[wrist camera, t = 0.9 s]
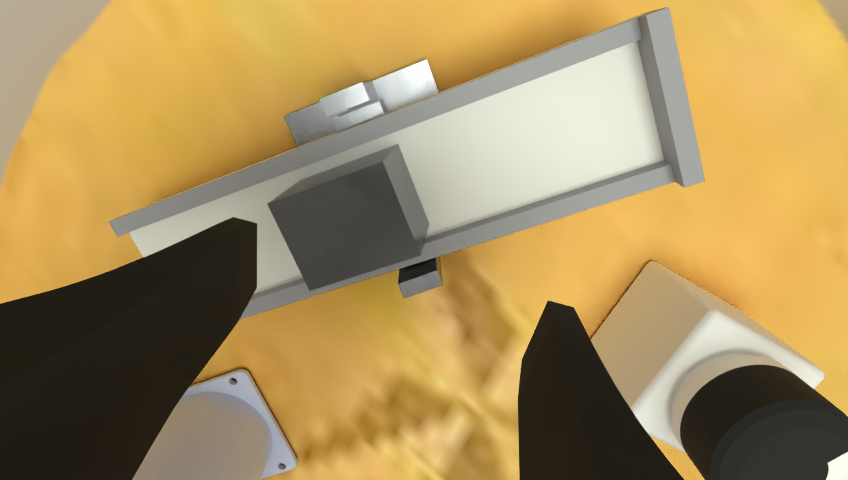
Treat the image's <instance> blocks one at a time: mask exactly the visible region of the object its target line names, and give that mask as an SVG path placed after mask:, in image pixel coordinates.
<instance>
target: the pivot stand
mask: <svg viewBox="0 0 848 480" xmlns="http://www.w3.org/2000/svg"><path fill="white" fill-rule="evenodd" d="M436 93H439V92H438V89H437V86H436V84H435V81H434V78H433V75H432V72H431V70H430V67H429V64H428V61H427V59H426V60H423V61H421V62H418V63H416V64H413V65H411V66H408V67H406V68H403V69H401V70H398V71H396V72H393V73H391V74H388V75H386V76H383V77H381V78H378V79H376V80H373V81H367V82H361V83H358V84H356V85H353V86H351V87H348V88H346V89H343V90H341V91H338V92H336V93H333V94H331V95H328V96H326V97H323V98H321V99H319V100H320V102H318V103H316V104H313V105H311V106H308V107H306V108H303V109H301V110H298V111H296V112H293V113H291V114H288V115H286V116H284V118H285V120H286V122H287V124H288V127H289V129H290V131H291V133H292V135H293V138H294V140H295V142H296V144H297V146H298V147H299V146H302V145H304V144H307V143H310V142H312V141H315V140H317V139H320V138H323V137H325V136H328V135H330V134H333V133H335V132H338V131H341V130H343V129H346V128H348V127H351V126H354V125H356V124H359V123H361V122H364V121H366V120H369V119H372V118H374V117H377V116H379V115H382V114H385V113H387V112H390V111H392V110H395V109H397V108H400V107H403V106H405V105H408V104H410V103H413V102H416V101H418V100H421V99H423V98H426V97H428V96H431V95H434V94H436ZM398 285H399V287H400V290H401V292H402V295H403V297H404V298H407V297H410V296H412V295H415V294H418V293H421V292H424V291H427V290H430V289H432V288H435V287H438V286H441V285H443V283H442V274H441V264H440V256H439V257H435V258H432V259H429V260H426V261H423V262H420V263H416V264H413V265H410V266H407V267H404V268H401V269H400V271H399V280H398Z"/></svg>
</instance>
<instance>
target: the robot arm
mask: <svg viewBox="0 0 848 480" xmlns="http://www.w3.org/2000/svg"><path fill="white" fill-rule="evenodd" d="M256 288H257V223H254V222H251V221H247V220H243V219H239V218H236V217H232V218H230V219H227V220H225V221H223V222H220V223H218V224H216V225H214V226H212V227H210V228H207V229H205V230H203V231H201V232H199V233H197V234H195V235H193V236H191V237H188V238H186V239H184V240H182V241H180V242H177V243H175V244H173V245H171V246H169V247H167V248H164V249H162V250H160V251H158V252H156V253H153V254H151V255H148V256H146V257H143V258H141V259H139V260H136V261H134V262H131V263H129V264H126V265H124V266H121V267H119V268H117V269H114V270H111V271H109V272H106V273H103V274H101V275H98V276H95V277H92V278H89V279H86V280H83V281H80V282H77V283H74V284H71V285H68V286H65V287H61V288H58V289H55V290H51V291H48V292H44V293H40V294H36V295H32V296H29V297H25V298H21V299H17V300H13V301H10V302H6V303H2V304H0V480H261V479H264V478H267V477H270V476H273V475H276V474H280V473H283V472H286V471H289V470H292V469H294V468H295V467H296V465H297V458H296V456H295V454H294V452H293V451H292V449H291V447H290V445H289V443H288V442H287V440H286V438H285V436H284V434H283V433H282V431H281V429H280V427H279V425H278V424H277V422H276V420H275V418H274V417H273V415H272V413H271V411H270V409H269V408H268V406H267V404H266V402H265V400H264V399H263V397H262V395H261V393H260V391H259V390H258V388H257V386H256V384H255V382H254V381H253V379H252V377H251V375H250V374H249V372H248V371H246V370H245V369H238V370H235V371H233V372H230V373H227V374H224V375H221V376H218V377H215V378H212V379H210V380H207V381H204V382H201V383H198V384H195V385H192V386H190V385H191V384H192V383H193V381H194V380H195V379H196V377H197V376H198V375H199V373H200V372H201V371H202V369H203V368H204V367H205V365H206V364H207V363H208V361H209V360H210V359H211V357H212V356H213V355H214V353H215V352H216V351H217V349H218V348H219V347H220V345H221V344H222V343H223V341H224V340H225V339H226V337H227V336H228V335H229V333H230V332H231V331H232V329H233V328H234V326H235V325H236V324H237V322H238V321H239V319H240V317H241V316H242V314H243V312H244V310H245V309H246V307H247V305H248V303H249V301H250V299H251V298H252V296H253V294H254V292H255V290H256ZM231 378H235V379H236V380H237V381H233V380H232V379H231ZM518 425H519V466H520V480H684V479H683V478H682V477H681V475H680V474H679V473H678V472H677V471H676V469H675V468H674V467H673V466H672V464H671V463H670V462H669V461H668V459H667V458H666V457H665V456H664V454H663V453H662V452H661V450H660V449H659V448H658V446H657V445H656V444H655V442H654V441H653V440H652V439H651V437H650V436H649V435H648V433H647V432H646V430H645V429H644V428H643V426H642V425H641V423H640V422H639V421H638V419H637V418H636V416H635V415H634V413H633V412H632V410H631V409H630V407H629V405H628V404H627V402H626V401H625V399H624V398H623V396H622V395H621V393H620V392H619V390H618V388H617V387H616V385H615V383H614V382H613V380H612V378H611V376H610V375H609V373H608V371H607V369H606V368H605V366H604V364H603V362H602V361H601V359H600V357H599V355H598V353H597V351H596V349H595V348H594V346H593V344H592V342H591V340H590V338H589V336H588V334H587V332H586V330H585V328H584V326H583V325H582V323H581V321H580V319H579V317H578V315H577V313H576V311H575V309H574V308H573V307H570V306H566V305H563V304H559V303H555V302H551V301H548V302H547V304H546V306H545V309H544V311H543V313H542V316H541V318H540V320H539V322H538V325H537V327H536V329H535V331H534V334H533V336H532V338H531V340H530V343H529V345H528V347H527V350H526V352H525V354H524V356H523V359H522V365H521V374H520V383H519V394H518ZM280 463H283V464H285V465H281V464H280Z"/></svg>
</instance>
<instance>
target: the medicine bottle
mask: <svg viewBox="0 0 848 480" xmlns="http://www.w3.org/2000/svg"><path fill="white" fill-rule="evenodd" d="M591 342H592V344H593V346H594V348H595V349H596V351H597V353H598V355H599V357H600V359H601V361H602V362H603V364H604V366H605V368H606V369H607V371H608V373H609V375H610V376H611V378H612V380H613V382H614V383H615V385H616V387H617V388H618V390H619V392H620V393H621V395H622V396H623V398H624V399H625V401H626V402H627V404H628V405H629V407H630V409H631V410H632V412H633V413H634V415H635V416H636V418H637V419H638V421H639V422H640V423H641V425H642V426H643V428H644V429H645V430H646V432H647V433H648V434H649V435H651V436H653V437H655V438H657V439H659V440H661V441H663V442H665V443H667V444H669V445H671V446H673V447H675V448H677V449H679V450H681V451H683V452H684V453H686V454H687V455H688V456H689V458H690V459H691V460H692V462H693V463H694V465H695V466H696V467H697V469H698V470H699V472H700V473H701V474H702V476H703V477H704V479H705V480H848V417H847V416H846V415H845V414H844V413H843V412H842V411H841V410H839V409H838V408H837V407H836V406H834V405H833V404H832V403H831V402H829V401H828V400H827V399H826V398H824V397H823V396H822V395H821V394H819V393H818V392H817V391H816V390H814V389H815V388H816V386H817V385H818V384H819V383H820V382H821V381H822V380H823V378H824V372H823V371H822V370H821V369H820V368H819V367H818V366H816V365H815V364H813V363H812V362H811V361H809V360H808V359H807V358H805V357H804V356H802V355H801V354H800V353H798V352H797V351H796V350H794V349H793V348H792V347H790V346H789V345H787V344H786V343H785V342H783V341H782V340H781V339H779V338H778V337H776V336H775V335H774V334H772V333H771V332H770V331H768V330H767V329H765V328H764V327H763V326H761V325H760V324H759V323H757V322H756V321H755V320H753V319H752V318H750V317H749V316H748V315H746V314H745V313H744V312H742V311H741V310H739V309H737V308H736V307H734V306H732V305H730V304H729V303H727V302H725V301H723V300H722V299H720V298H718V297H716V296H715V295H713V294H711V293H709V292H708V291H706V290H704V289H703V288H701V287H699V286H697V285H696V284H694V283H692V282H690V281H689V280H687V279H685V278H683V277H682V276H680V275H678V274H676V273H675V272H673V271H671V270H670V269H668V268H666V267H664V266H663V265H661V264H659V263H657V262H654V261H651V262H649V263H647V265H646V266H645V267H644V269H643V270H642V271H641V273H640V274H639V275H638V277H637V278H636V279H635V281H634V282H633V283H632V285H631V286H630V287H629V289H628V290H627V292H626V293H625V294H624V296H623V297H622V298H621V300H620V301H619V302H618V304H617V305H616V306H615V308H614V309H613V310H612V312H611V313H610V314H609V316H608V317H607V318H606V320H605V321H604V322H603V324H602V325H601V326H600V328H599V329H598V330H597V332H596V333H595V334H594V336H593V337H592V339H591Z"/></svg>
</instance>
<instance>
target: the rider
mask: <svg viewBox="0 0 848 480" xmlns="http://www.w3.org/2000/svg"><path fill="white" fill-rule="evenodd" d="M267 205H268V207H269V209H270V211H271V213H272V215H273V217H274V219H275V221H276V223H277V225H278V227H279V229H280V231H281V234H282V236H283V238H284V240H285V242H286V244H287V246H288V248H289V250H290V252H291V254H292V256H293V258H294V260H295V262H296V264H297V266H298V268H299V270H300V273H301V275H302V277H303V279H304V281H305V283H306V285H307V287H308V289H309V291H311V290H314V289H317V288H321V287H324V286H327V285H330V284H333V283H336V282H339V281H343V280H346V279H349V278H352V277H355V276H358V275H361V274H365V273H368V272H371V271H374V270H377V269H380V268H383V267H387V266H390V265H393V264H396V263H399V262H402V261H405V260H408V259H412V258H415V257H418V256H421V253H422V249H423V246H424V242H425V238H426V235H427V231H428V227H429V222H428V219H427V217H426V214H425V211H424V209H423V206H422V204H421V201H420V199H419V196H418V194H417V191H416V188H415V186H414V183H413V181H412V178H411V176H410V173H409V170H408V168H407V165H406V163H405V160H404V158H403V155H402V152H401V150H400V147H399V145H398V144H396V145H394V146H391V147H388V148H386V149H383V150H380V151H377V152H375V153H372V154H369V155H367V156H364V157H361V158H359V159H356V160H353V161H351V162H348V163H345V164H342V165H340V166H337V167H334V168H332V169H329V170H326V171H324V172H321V173H318V174H316V175H313V176H310V177H307V178H305V179H302V180H300V181H298V182H297V183H295V184H294V185H293V186H291V187H290V188H288V189H287V190H286V191H284V192H283V193H281V194H280V195H279V196H277V197H276V198H274V199H273V200H272V201H270V202H269V203H268V204H267Z"/></svg>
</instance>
